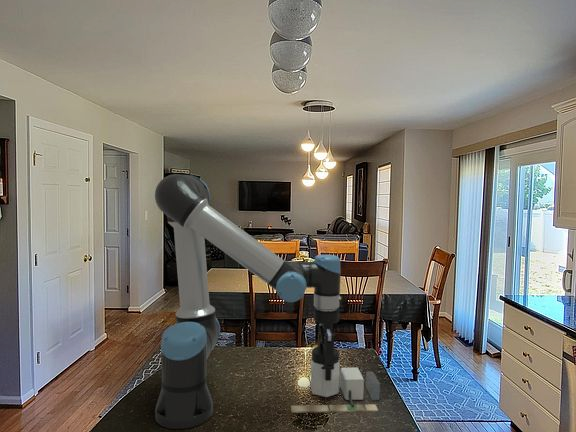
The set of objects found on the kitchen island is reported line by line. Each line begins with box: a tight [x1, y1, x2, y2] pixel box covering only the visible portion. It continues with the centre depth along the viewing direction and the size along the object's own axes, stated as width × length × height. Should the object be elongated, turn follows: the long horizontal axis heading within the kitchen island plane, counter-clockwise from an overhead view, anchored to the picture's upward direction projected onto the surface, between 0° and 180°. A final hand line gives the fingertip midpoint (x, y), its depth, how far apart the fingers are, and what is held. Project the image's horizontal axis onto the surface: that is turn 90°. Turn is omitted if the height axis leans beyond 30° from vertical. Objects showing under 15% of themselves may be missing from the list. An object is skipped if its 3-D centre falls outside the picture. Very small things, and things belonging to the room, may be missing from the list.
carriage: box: [339, 367, 365, 407], centre depth 123 cm, size 5×13×6 cm, turn 3°
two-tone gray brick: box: [365, 371, 381, 401], centre depth 125 cm, size 2×8×5 cm, turn 3°
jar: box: [310, 345, 341, 398], centre depth 124 cm, size 9×8×12 cm
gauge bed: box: [290, 403, 379, 414], centre depth 116 cm, size 24×3×1 cm, turn 93°
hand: (324, 382), depth 125 cm, fingers closed on jar, 9 cm apart
